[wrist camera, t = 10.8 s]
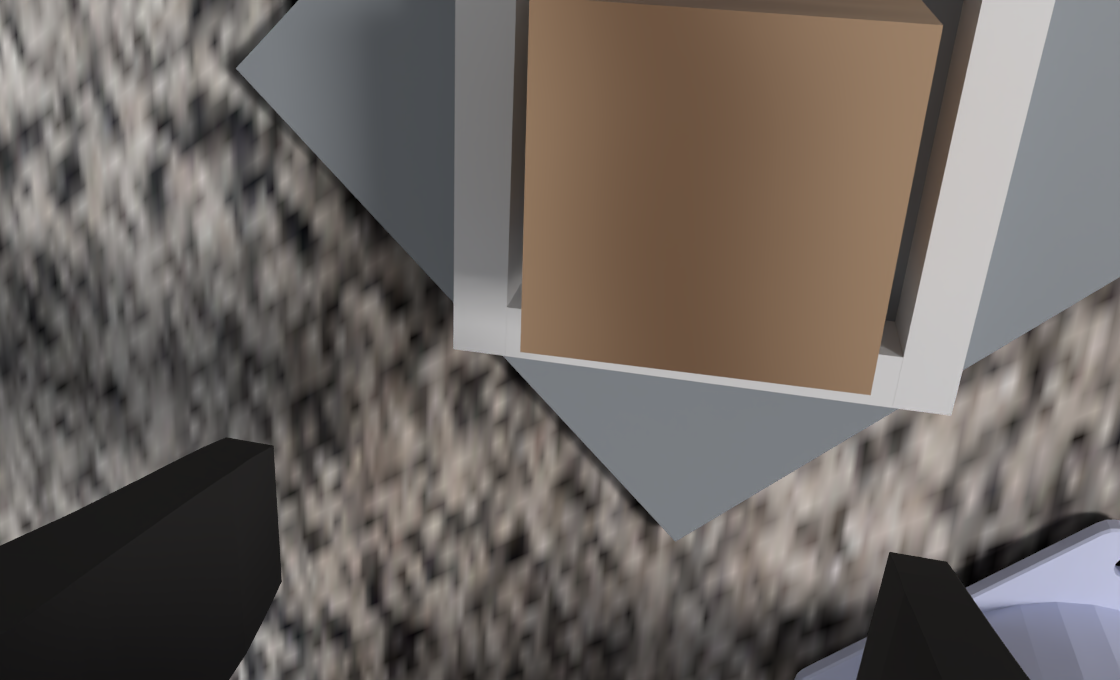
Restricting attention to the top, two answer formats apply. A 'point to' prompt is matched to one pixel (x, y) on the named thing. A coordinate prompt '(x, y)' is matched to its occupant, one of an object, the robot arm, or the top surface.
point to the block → (721, 182)
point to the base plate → (670, 421)
